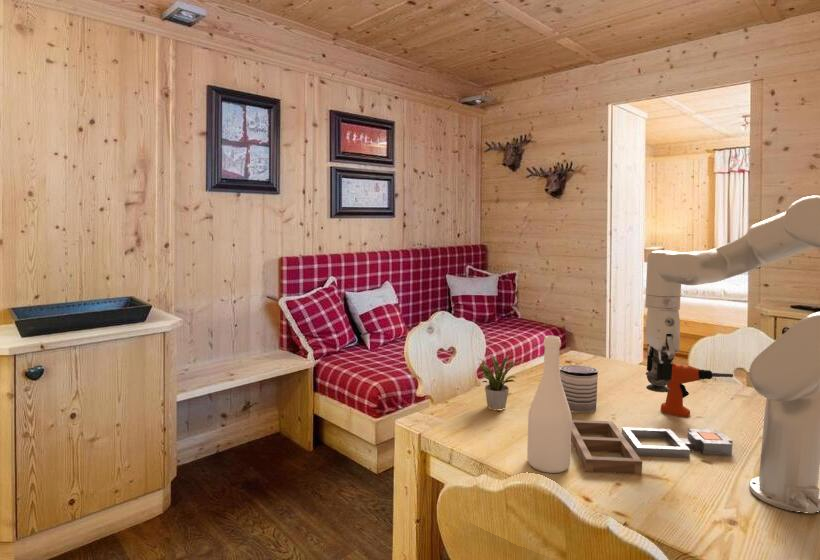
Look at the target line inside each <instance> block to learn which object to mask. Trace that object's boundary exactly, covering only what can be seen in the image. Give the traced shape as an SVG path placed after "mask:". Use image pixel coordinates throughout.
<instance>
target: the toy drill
mask: <svg viewBox="0 0 820 560" xmlns="http://www.w3.org/2000/svg"><path fill="white" fill-rule="evenodd" d="M715 377H716V378H733V377H734V374H733V373H720V372H713V371H711V370H708V369H700V368H697V367H693V366H691V365H687V366H684V365H682V364H681V365H678V364H676V363H674V362H673V364H672V379H671V380H670V382H669V384H667V385H666V386H667V387H668V388H669V389H670V391H669V392H666V399H665V401H664V402H662V403H661V404H660V412H661V413H664V414H667V415H671V416H676V417H683V418H688V417H690V415H691V410H690V409H689V408H687V407H686V406H684V399H683V398H685V397H687V396H689V395H690V392H689V391H687V389H686V386H685V385H684V384H687V383H692V382H697V381H700V380H711V379H713V378H715Z"/></svg>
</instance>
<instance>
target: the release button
mask: <svg viewBox="0 0 820 560" xmlns="http://www.w3.org/2000/svg"><path fill="white" fill-rule="evenodd" d="M698 434H699V435H700V436H701V437H702V438H703V439H704V440H722V439H720V438H719V437H718V436H717V435H716V434H715V433H698Z"/></svg>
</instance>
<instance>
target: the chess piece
mask: <svg viewBox="0 0 820 560" xmlns="http://www.w3.org/2000/svg"><path fill="white" fill-rule="evenodd" d="M662 349H663V350H667V348H662ZM665 354H667V353H663V357H664V355H665ZM651 359H652V360H653V364H652V370H651V371H646V372H645V375H646V379H647V381H648V383H650V384H648V385H646V389H647V390H648V391H652V392H655V393H667V392H669V391H670V389H669V388H668V387H667V384H669V382H670V380H658V379H657V363H659V353H658V350H656V349H655V348H654V351H653V358H651Z"/></svg>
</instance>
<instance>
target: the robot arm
mask: <svg viewBox="0 0 820 560" xmlns="http://www.w3.org/2000/svg"><path fill="white" fill-rule="evenodd" d="M814 249H819V250H820V195H811V196H805V197H802V198H800V199H798V200H796V201H794V202H793V203H791V205H790V206H789V207H788V208H787V209H786V211H785V212H782V213H780V214H777V215H775V216H772V217H769V218H767V219H764V220H762V221H760V222H756V223H755V224H754V223H753V224H752V225H751V226H750V227H749V228H747V231H746V233H745V234H744V235H743V236H742V237H740V238H738V239H736V240H735V239H734V241H730V242H729V243H728V242H727V243H725V244H724V245H720V246H718V247H715V248H712V249H709V250H696V251H687V252H679V251H677V250H676V251H675V250H653V251H650V252H649V253H648V255H647V261H646V262H647V263H646V281H645V282H646V283H645V300H644V303H645V305H644V308H645V309H647V311H646V317H645V318H646V319H645V332H644V333H645V334H644V335H645V336H644V337H645V343H646V345H647V351H646V353H647V355H646V356H647V359H646V361H647V363H646V372H649V371H651V370H652V364H653V360H652V359H651V358H653V351H654V348H655V349H656V350H658V353H659V363H657V379H658V380H671V379H672V364H673V363H674V358H675V356H676V354H677V352H679V351H680V348H681V346H680V345H681V321H680V313H679V311H680V310H681V295H682V294H681V293H682V285H684V286H699V285H704V284H705V285H706V284H713V283H718V282H721V281H724V280H728V279H730V278H733V277H736V276H739V275H742V274H745V273H748V272H750V271H753V270H756V269H758V268H761V267H766V266H769V265H771V264H773V263H776V262H779V261H782V260H785V259H788V258H790V257H792V256H796V255H799V254H802V253H804V252H808V251H811V250H814ZM662 348H667V350H663V349H662ZM663 353H667V354H665V355H664V357H663ZM748 374H749V375H748V377H749V382H750V384H751V385H752V387H753V389H754V390H755V391H756V393H758V394H760V396H762V397H764V398H765V399H766V401H765V407H764V408H765V409H764V417H763V428H762V436H761V437H762V440H761V448H760V449H761V451H760V464H759V475H758V476H757V477H755V476H754V477H753V478H751V480H750V481H749V484H748V485H749V486H748V488H749V491H750V492H751V493H752V495H754V496H755V497H756V498H757V499H759V500H760V501H763V502H764V503H765V504H767V505H768V504H769V505H771V506H772V507H773V506H774V507H776V508H778V509H781V510H784V509H785V511H788V510H790V511H789V512H792V511H800V512H808V513H807V514H815V513H814V512H817V511H820V488H819V487H818V485H819V477H820V475H819V474H820V311H816V312H813V313H811V314H809V315H806V316H804V317H803V318H802V319H800V320H799V321H797V322H796V323H795V324H793V325H792V326H791V327H789V328H788V330H787V331H785V332H784V333H783V334H781V335H780V336H779V337H778V338H777V339H775V341H773V342H772V343H771V344H769V345H768V346H767V347H766V348H765V349H764V350H762V351H761V352H760V353H759V354H758V355H756V357H755V358H754V359H753V360H752V362H751V364H750V366H749V373H748Z"/></svg>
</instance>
